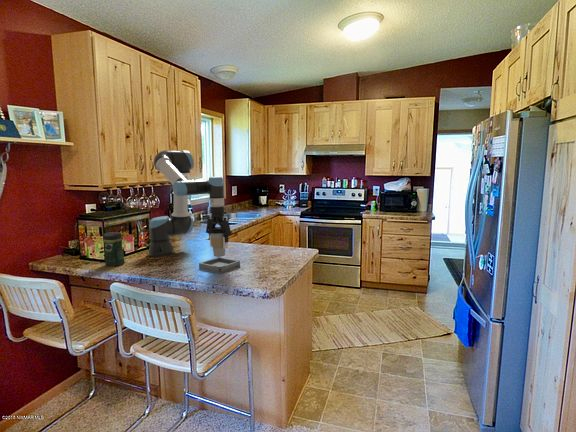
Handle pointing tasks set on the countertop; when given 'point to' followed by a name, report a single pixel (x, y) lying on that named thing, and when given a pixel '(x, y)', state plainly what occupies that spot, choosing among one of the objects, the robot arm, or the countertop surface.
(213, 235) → the coffee cup
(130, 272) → the countertop surface
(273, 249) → the countertop surface
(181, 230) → the robot arm
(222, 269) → the tray
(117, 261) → the coffee jar
